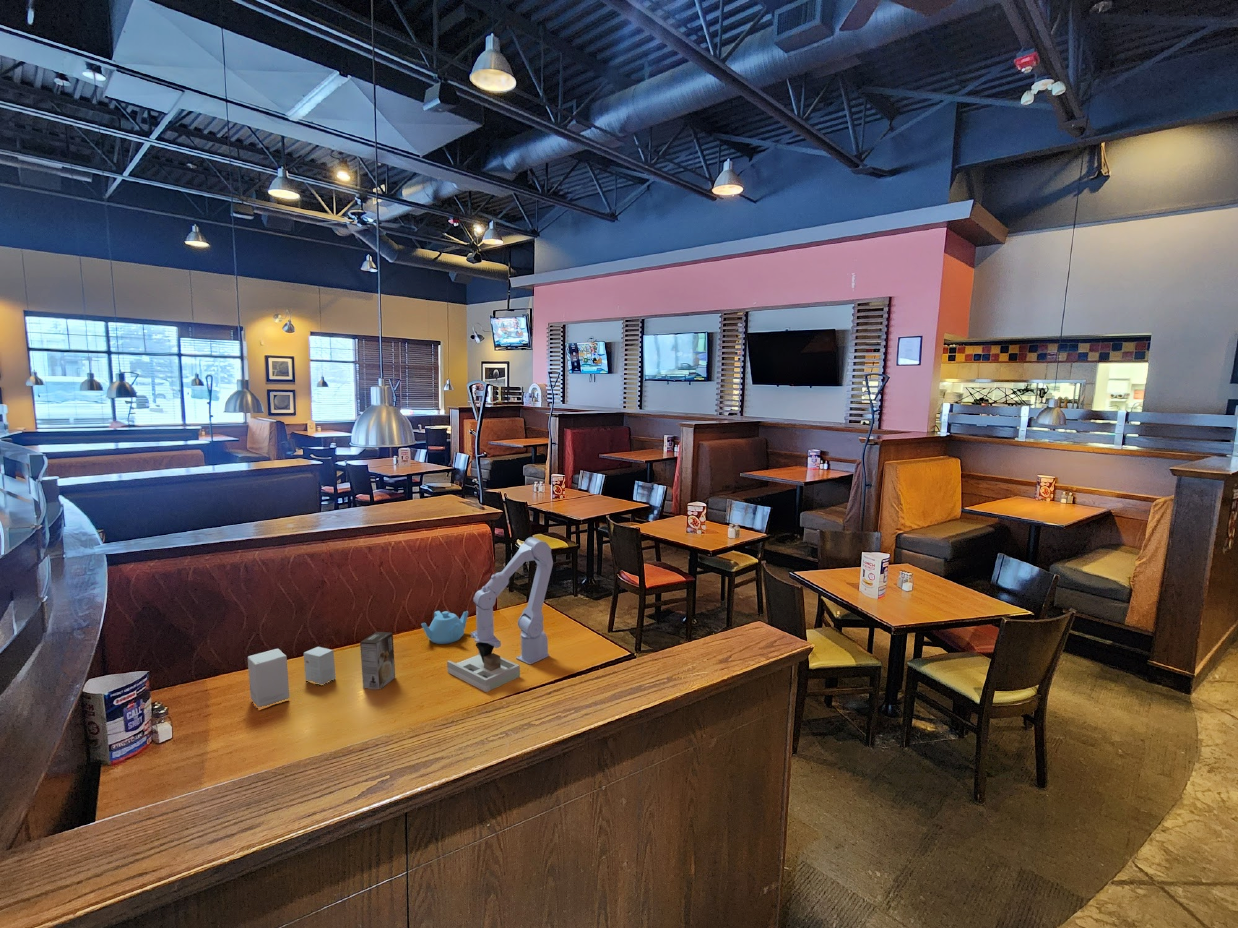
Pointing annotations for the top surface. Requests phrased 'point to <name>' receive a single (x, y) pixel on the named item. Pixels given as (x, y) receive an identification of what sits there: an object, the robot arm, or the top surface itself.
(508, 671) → the tray
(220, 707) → the top surface
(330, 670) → the small box
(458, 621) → the teapot
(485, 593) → the robot arm
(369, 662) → the coffee box
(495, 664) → the walnut block
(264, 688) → the supplement box
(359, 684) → the top surface
